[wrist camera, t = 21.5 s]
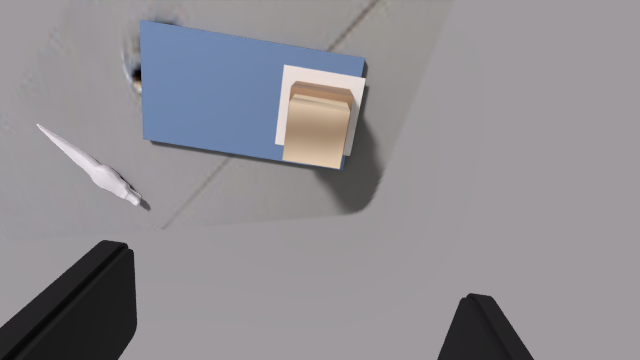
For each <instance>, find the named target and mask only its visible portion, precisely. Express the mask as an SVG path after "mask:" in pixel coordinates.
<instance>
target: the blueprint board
mask: <svg viewBox="0 0 640 360" xmlns="http://www.w3.org/2000/svg"><path fill="white" fill-rule="evenodd" d="M140 45H141V78H142V112H143V139H145V140H151V141H158V142H164V143H170V144H177V145H183V146H189V147H196V148H202V149H208V150H215V151H221V152H227V153H234V154H240V155H246V156H253V157H259V158H265V159H272V160H278V161H284V162H291V161H285V160H282V159H283V151H284V141H285V132H286V123H287V115H288V106H289V98H290V89H291V86H292V85H293V84H294V82H295V81H302V82H308V83H314V84H321V85H327V86H333V87H339V88H346V89H350V90H351V92H352V94H353V96H354V99H353V104H352V109H351V115H350V120H349V126H348V131H347V136H346V142H345V147H344V153H343V157H342V159H341V164H340V169H336V168H330V167H323V166H317V165H311V164H304V163H298V162H291V163H297V164H303V165H310V166H316V167H322V168H329V169H335V170H341V171H343V167H344V162H345V157H346V156H350V154H351V149H352V144H353V139H354V134H355V129H356V124H357V119H358V114H359V109H360V104H361V99H362V94H363V89H364V84H365V79H366V78H361V76H362V71H363V66H364V61H365V58H360V57H354V56H348V55H342V54H336V53H331V52H325V51H319V50H313V49H307V48H302V47H296V46H290V45H284V44H278V43H273V42H267V41H261V40H255V39H249V38H244V37H238V36H232V35H226V34H220V33H214V32H209V31H203V30H197V29H191V28H185V27H180V26H174V25H168V24H162V23H156V22H151V21H145V20H140Z"/></svg>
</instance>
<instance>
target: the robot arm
mask: <svg viewBox="0 0 640 360" xmlns="http://www.w3.org/2000/svg"><path fill="white" fill-rule="evenodd" d="M136 327H137V312H136V290H135V268H134V252H133V250H131V249H128V245H127V244H125V243H122V242H114V241H108V240H103V241H101V242H99V243H98V244H97V245H96V246H95V247H94V248H92V249H91V250H90V251H89V252H88V253H87V254H85V255H84V256H83V257H82V258H81V259H80V260H79V261H77V262H76V263H75V264H74V265H73V266H72V267H70V268H69V269H68V270H67V271H66V272H65V273H63V274H62V275H61V276H60V277H59V278H58V279H57V280H55V281H54V282H53V283H52V284H51V285H49V286H48V287H47V288H46V289H45V290H44V291H43V292H41V293H40V294H39V295H38V296H37V297H36V298H34V299H33V300H32V301H31V302H30V303H29V304H27V305H26V306H25V307H24V308H23V309H22V310H20V311H19V312H18V313H17V314H16V315H15V316H14V317H12V318H11V319H10V320H9V321H8V322H7V323H5V324H4V325H3V326H2V327H1V328H0V360H118V359H119V357H120V356H121V354H122V353H123V351H124V350H125V348H126V347H127V345H128V343H129V342H130V341H131V339H132V338H133V336H134V334H135V331H136ZM437 360H534V359H533V357H532V356H531V354H530V353H529V351H528V350H527V348H526V347H525V345H524V344H523V342H522V341H521V339H520V338H519V336H518V335H517V333H516V332H515V330H514V329H513V327H512V326H511V324H510V323H509V321H508V320H507V318H506V317H505V315H504V314H503V312H502V311H501V309H500V308H499V306H498V304H497V303H496V301H495V300H494V299H493V298H492V297H491V296H486V295H479V294H473V293H471V294H468V295H467V297H466V298H462V299H461V300H460V302H459V305H458V308H457V310H456V313H455V315H454V318H453V321H452V323H451V326H450V328H449V331H448V333H447V336H446V338H445V341H444V344H443V346H442V349H441V351H440V354H439V357H438V359H437Z"/></svg>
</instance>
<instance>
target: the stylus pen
mask: <svg viewBox="0 0 640 360" xmlns="http://www.w3.org/2000/svg"><path fill="white" fill-rule="evenodd" d="M37 126H38V127H39V128H40V129H41V130H42V131H43V132H44V133H45V134H46V135H47V136H48V137H49V138H50V139H51V140H52V141H53V142H54V143H55V144H56V145H57V146H58V147H59V148H61V149H62V150H63V151H64V152H65V153H66V154H67V155H68V156H69V157H70V158H71V159H72V160H73V161H74V162H75V163H77V164H78V165H79V166H80V167H82V168H83V169H84V170H85V171H86V172H87V173H88V174H89V175H90V176H91V178H92V180H93V181H94V182H95V183H96V184H97V185H98V186H99V187H101V188H104V189H106V190H108V191H110V192H112V193H114V194H115V195H117V196H119V197H121V198H123V199H127V200H129V201H130V202H131V203H132V204H134V205H135V206H139V205H140V200H141V195H140V194H139V193H137V192H135V191H134V190H133V189H131V188H130V185H129V184H128V183H126V182H125V181H124V180H122V179H121V178H120V177H119V176H120V175H119V174H118V173H117V172H116V171H115V170H113V169H112V168H110V167H108V166H105V165H101V164H100V163H99V162H97V161H96V160H95V159H94V158H93V157H91V156H90V155H88V154H87V153H85V152H84V151H82V150H80V149H79V148H77V147H75V146H74V145H72V144H71V143H69V142H67V141H66V140H64V139H62V138H61V137H59V136H57V135H55V134H54V133H52V132H51V131H49V130H47V129H46V128H44V127H43V126H41V125H39V124H37Z"/></svg>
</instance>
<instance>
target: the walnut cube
mask: <svg viewBox="0 0 640 360" xmlns="http://www.w3.org/2000/svg"><path fill="white" fill-rule="evenodd" d="M294 94H298V95H305V96H311V97H317V98H323V99H329V100H335V101H341V102H347V104H348V107H349V109H350V115H351V109H352V104H353V99H354V96H353V94H352V92H351V90H350V89H346V88H339V87H333V86H327V85H321V84H314V83H308V82H302V81H295V82H294V84H293V85H292V86H291V89H290V98H289V102H290V100H291V99H292V97H293V96H294ZM288 110H289V106H288ZM287 118H288V115H287ZM349 120H350V117H349ZM286 126H287V123H286ZM348 126H349V122H348ZM347 131H348V127H347ZM285 135H286V132H285ZM346 136H347V133H346ZM345 142H346V138H345ZM284 143H285V141H284ZM344 147H345V143H344ZM343 153H344V148H343ZM342 157H343V154H342Z"/></svg>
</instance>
